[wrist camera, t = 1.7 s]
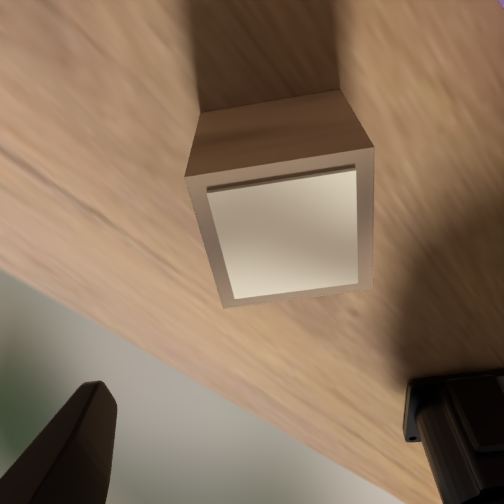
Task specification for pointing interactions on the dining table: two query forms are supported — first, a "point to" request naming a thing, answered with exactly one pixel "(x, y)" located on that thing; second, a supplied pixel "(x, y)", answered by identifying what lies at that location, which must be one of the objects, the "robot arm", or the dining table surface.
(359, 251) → the walnut block
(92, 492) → the robot arm
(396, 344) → the dining table surface
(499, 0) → the masking tape
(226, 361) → the dining table surface
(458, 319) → the dining table surface
